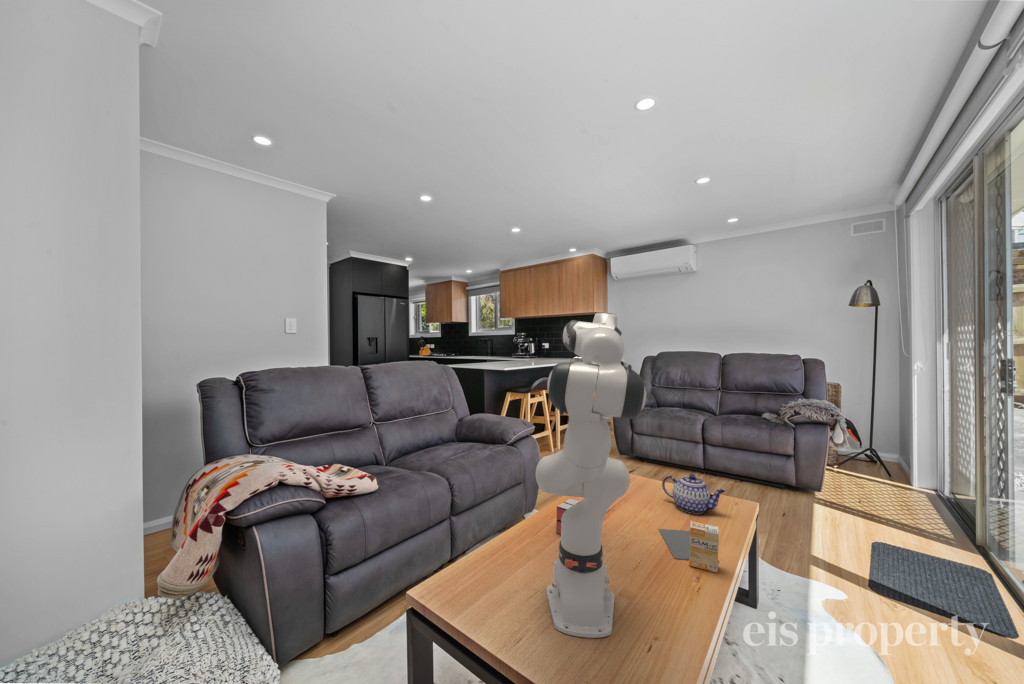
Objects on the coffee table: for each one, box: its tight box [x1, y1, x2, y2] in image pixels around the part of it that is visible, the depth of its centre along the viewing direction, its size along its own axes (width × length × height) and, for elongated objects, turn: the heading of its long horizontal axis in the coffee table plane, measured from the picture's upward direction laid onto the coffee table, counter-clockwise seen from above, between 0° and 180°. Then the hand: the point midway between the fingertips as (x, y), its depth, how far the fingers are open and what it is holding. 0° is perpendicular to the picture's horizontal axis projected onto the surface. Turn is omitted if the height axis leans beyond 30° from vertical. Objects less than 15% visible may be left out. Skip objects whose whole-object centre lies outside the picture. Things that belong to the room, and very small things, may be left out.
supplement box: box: [688, 520, 720, 574], centre depth 122 cm, size 8×5×13 cm, turn 62°
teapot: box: [661, 473, 726, 515], centre depth 164 cm, size 25×15×15 cm, turn 46°
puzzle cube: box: [555, 498, 581, 535], centre depth 143 cm, size 10×10×10 cm
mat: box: [658, 528, 720, 563], centre depth 135 cm, size 20×14×1 cm
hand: (595, 397), depth 135 cm, fingers open, 8 cm apart
